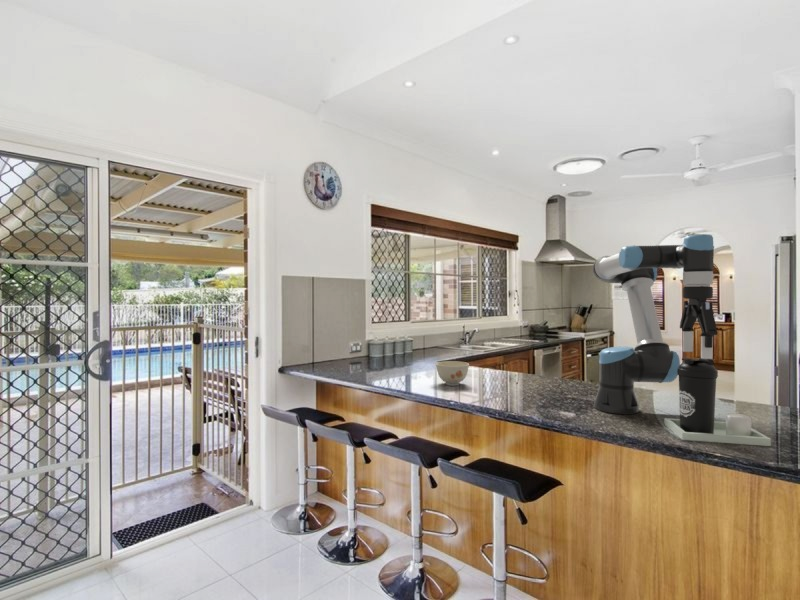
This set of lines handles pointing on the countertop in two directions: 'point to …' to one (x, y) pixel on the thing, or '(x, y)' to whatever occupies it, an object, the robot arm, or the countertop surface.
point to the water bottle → (697, 395)
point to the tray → (718, 434)
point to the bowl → (452, 371)
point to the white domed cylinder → (738, 424)
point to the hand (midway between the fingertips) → (696, 355)
